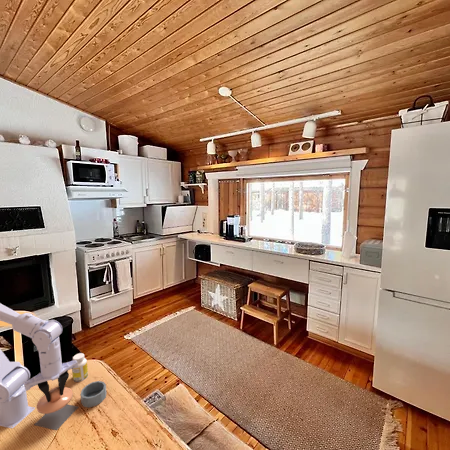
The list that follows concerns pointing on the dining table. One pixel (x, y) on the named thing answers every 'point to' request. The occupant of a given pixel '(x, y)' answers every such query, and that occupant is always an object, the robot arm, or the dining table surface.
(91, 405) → the cup
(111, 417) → the dining table surface
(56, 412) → the mat
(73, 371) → the supplement bottle
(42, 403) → the lid
